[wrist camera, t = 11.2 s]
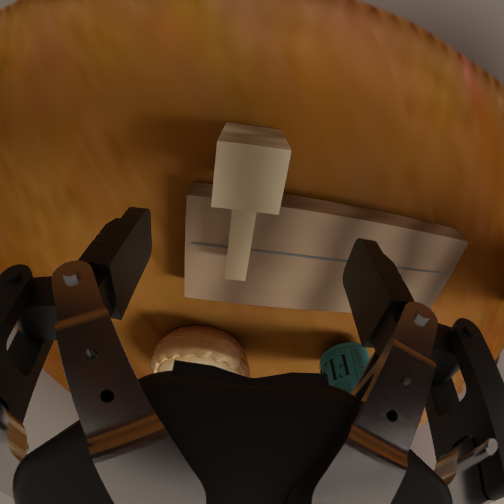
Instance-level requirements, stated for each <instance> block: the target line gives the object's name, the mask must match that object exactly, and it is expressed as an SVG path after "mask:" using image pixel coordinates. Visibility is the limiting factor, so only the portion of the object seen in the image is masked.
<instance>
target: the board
mask: <svg viewBox="0 0 504 504" xmlns="http://www.w3.org/2000/svg"><path fill="white" fill-rule="evenodd" d="M212 191H213V184H206V183H197V182H193V183H192V185H191V187H190V189H189V191H188V193H187V199H186V223H185V297H189V298H196V299H204V300H212V301H221V302H230V303H239V304H248V305H258V306H269V307H280V308H292V309H304V310H318V311H333V312H349V313H352V311H351V308H350V304H349V301H348V298H347V295H346V292H345V289H344V286H343V272H344V268H345V266H346V263H347V261H348V258H349V256H350V253H351V250H352V248H353V245H354V243H355V241H356V240H357V239H358V238H362V239H368V240H374V241H376V242H377V243H378V245H379V247H380V248H381V250H382V252H383V253H384V254H385V255H386V256H387V257H388V258H389V259H390V260H391V261H392V262H394V264H395V266H396V267H397V269H398V271H399V273H400V275H401V276H402V278H403V280H404V282H405V284H406V286H407V287H408V289H409V291H410V293H411V295H412V297H413V299H414V301H415V302H419V303H422V304H424V305H426V306H427V307H428V308H431V307H432V305H433V304H434V302H435V301H436V299H437V297H438V296H439V294H440V293H441V291H442V289H443V288H444V286H445V284H446V283H447V281H448V279H449V278H450V276H451V274H452V273H453V271H454V269H455V267H456V265H457V264H458V262H459V260H460V258H461V256H462V254H463V253H464V251H465V249H466V247H467V245H468V243H469V242H468V241H467V240H466V238H465V237H464V236H463V235H462V234H461V233H460V232H459V231H458V230H457V229H455V228H452V227H448V226H444V225H440V224H436V223H432V222H428V221H423V220H419V219H415V218H410V217H406V216H402V215H397V214H392V213H388V212H383V211H378V210H373V209H368V208H363V207H358V206H353V205H348V204H343V203H337V202H332V201H326V200H320V199H314V198H308V197H302V196H296V195H290V194H283V196H282V201H281V206H280V211H279V215H275V214H268V213H260V212H257V213H256V219H255V225H254V231H253V237H252V243H251V250H250V256H249V262H248V268H247V274H246V280H245V281H240V280H230V279H225V271H226V262H227V252H228V243H229V234H230V226H231V217H232V209H225V208H216V207H211V203H212Z"/></svg>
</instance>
